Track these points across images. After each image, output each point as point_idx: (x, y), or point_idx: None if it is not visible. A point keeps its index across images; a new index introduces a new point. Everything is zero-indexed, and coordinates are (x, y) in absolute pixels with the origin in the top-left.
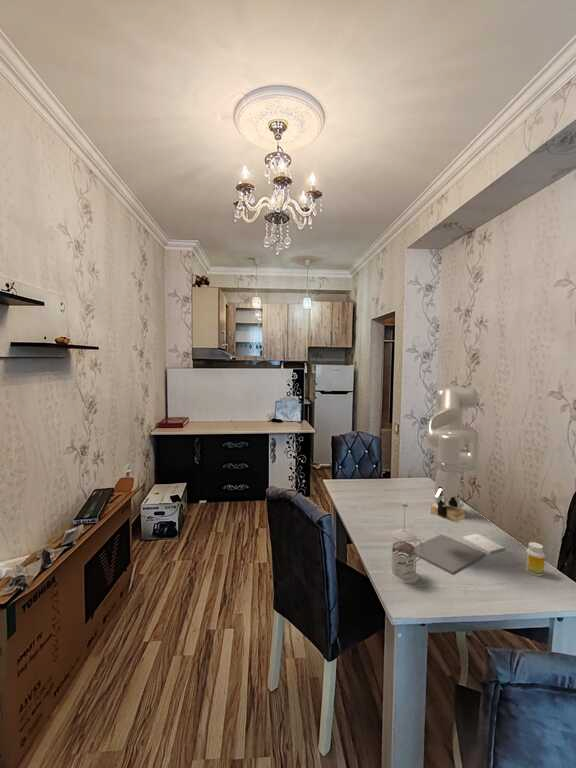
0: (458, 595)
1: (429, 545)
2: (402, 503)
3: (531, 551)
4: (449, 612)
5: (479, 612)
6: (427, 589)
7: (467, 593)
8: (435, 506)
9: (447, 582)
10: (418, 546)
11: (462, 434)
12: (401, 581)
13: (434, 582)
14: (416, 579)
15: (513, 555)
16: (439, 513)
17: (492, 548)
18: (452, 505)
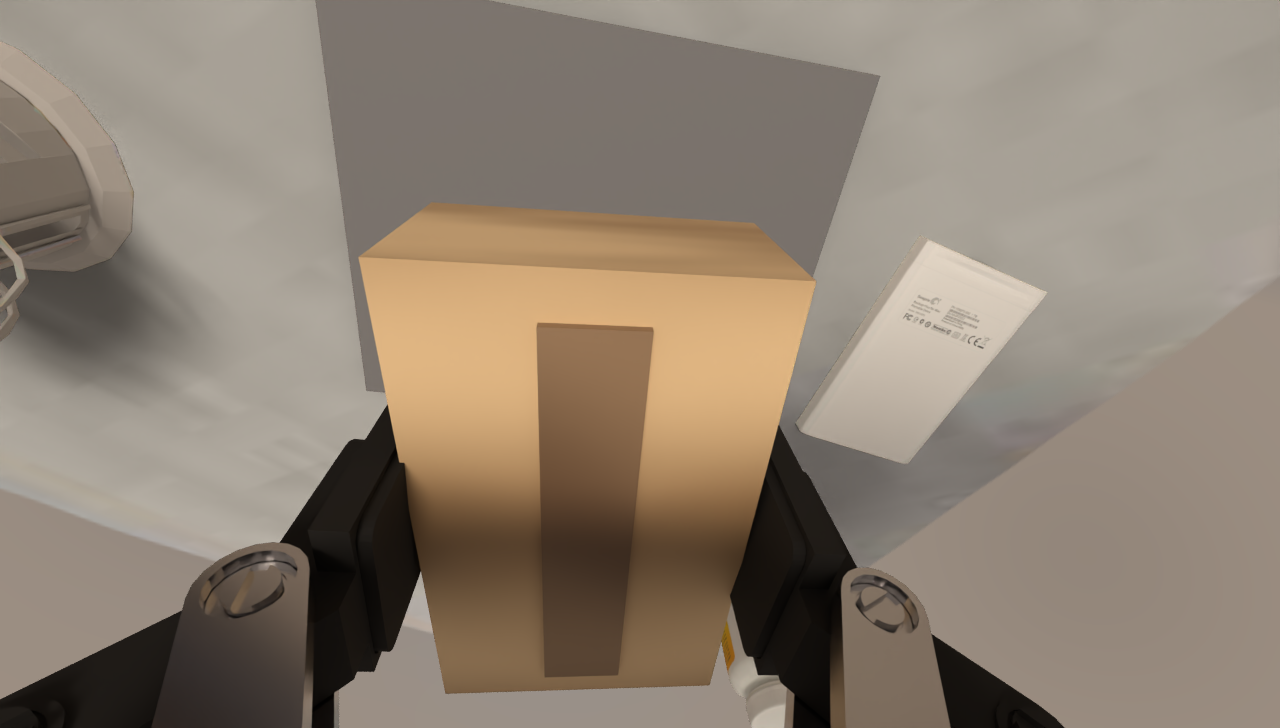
0: (226, 473)
1: (572, 99)
2: None
3: (749, 681)
4: (61, 499)
5: (217, 560)
6: (74, 359)
7: (289, 490)
8: (405, 371)
9: (268, 398)
10: (466, 22)
11: None
12: None
13: (183, 353)
14: (61, 268)
15: (855, 496)
16: (355, 448)
17: (849, 430)
18: (747, 555)
